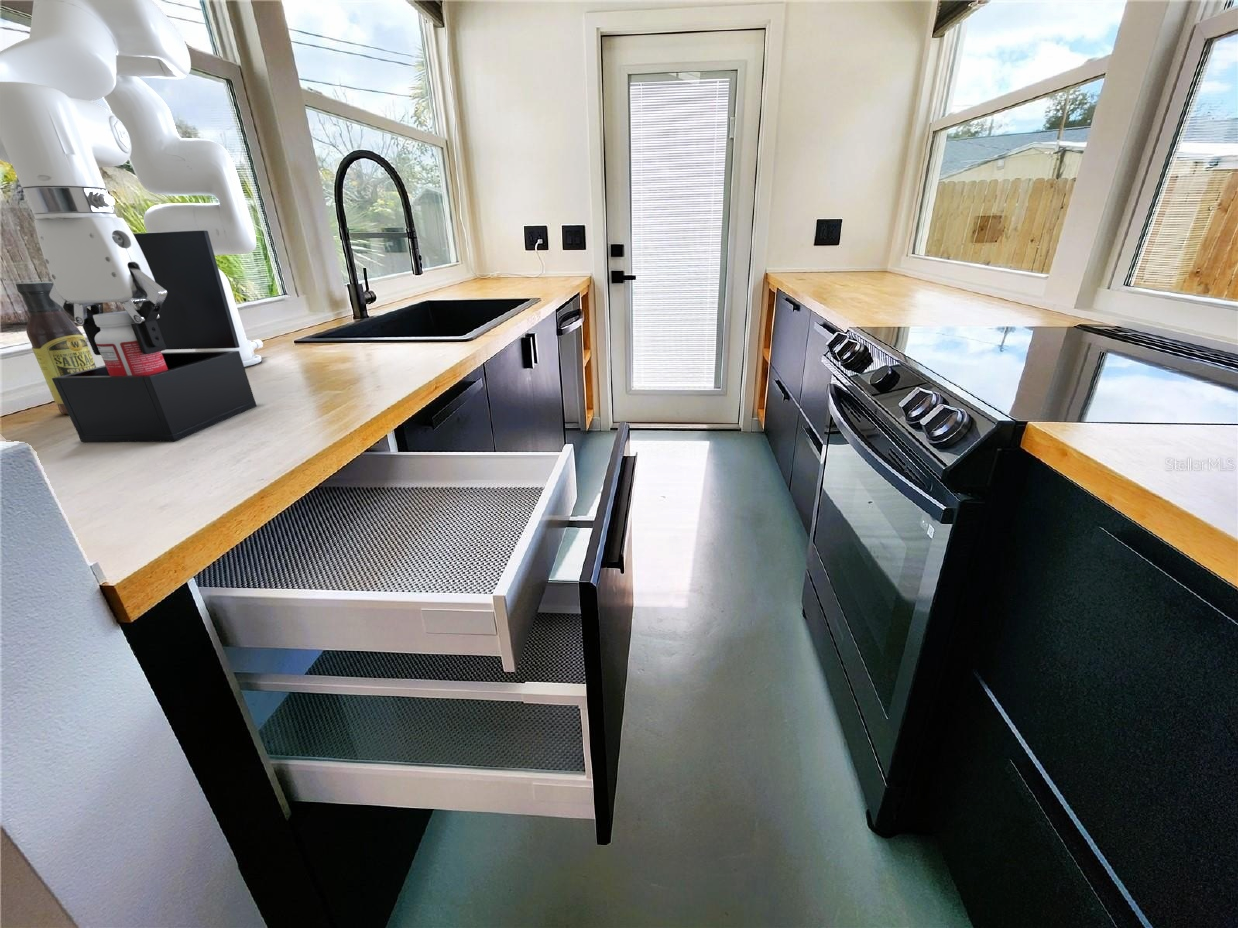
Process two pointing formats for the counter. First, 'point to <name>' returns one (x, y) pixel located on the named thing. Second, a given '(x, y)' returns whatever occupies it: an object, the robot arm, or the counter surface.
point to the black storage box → (157, 398)
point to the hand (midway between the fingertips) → (131, 351)
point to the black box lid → (189, 290)
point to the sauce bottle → (53, 337)
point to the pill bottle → (124, 347)
